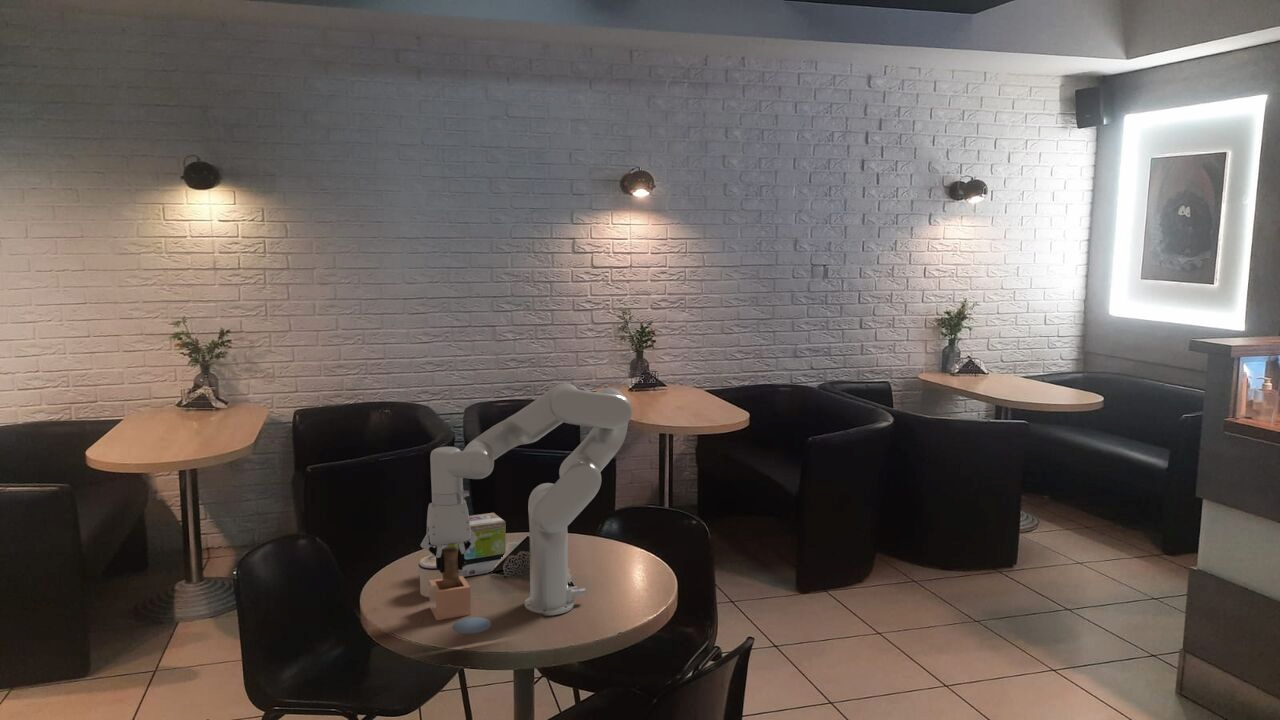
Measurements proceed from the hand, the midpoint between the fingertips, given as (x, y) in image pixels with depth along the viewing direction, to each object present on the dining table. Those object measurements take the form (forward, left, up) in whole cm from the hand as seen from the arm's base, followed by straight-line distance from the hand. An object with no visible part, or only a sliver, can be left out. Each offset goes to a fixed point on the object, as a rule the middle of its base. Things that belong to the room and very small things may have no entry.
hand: (450, 569), depth 216 cm
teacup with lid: (0, -16, -12) cm, 20 cm away
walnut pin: (0, 0, -8) cm, 8 cm away
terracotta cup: (0, 0, -12) cm, 12 cm away
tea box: (-13, -28, -12) cm, 33 cm away
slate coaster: (-3, +10, -12) cm, 16 cm away
